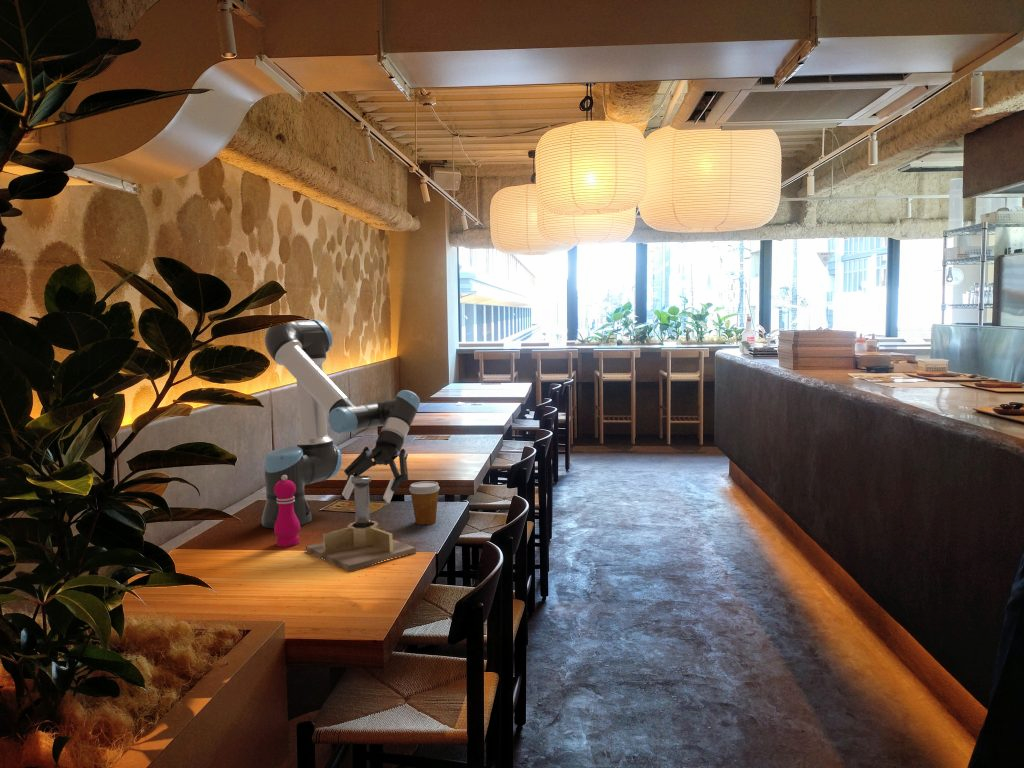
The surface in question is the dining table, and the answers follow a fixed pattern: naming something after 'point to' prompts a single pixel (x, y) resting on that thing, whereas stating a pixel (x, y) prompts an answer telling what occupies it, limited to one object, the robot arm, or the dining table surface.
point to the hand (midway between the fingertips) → (365, 499)
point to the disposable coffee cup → (424, 501)
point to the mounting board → (359, 554)
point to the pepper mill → (286, 514)
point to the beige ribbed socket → (358, 538)
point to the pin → (362, 500)
